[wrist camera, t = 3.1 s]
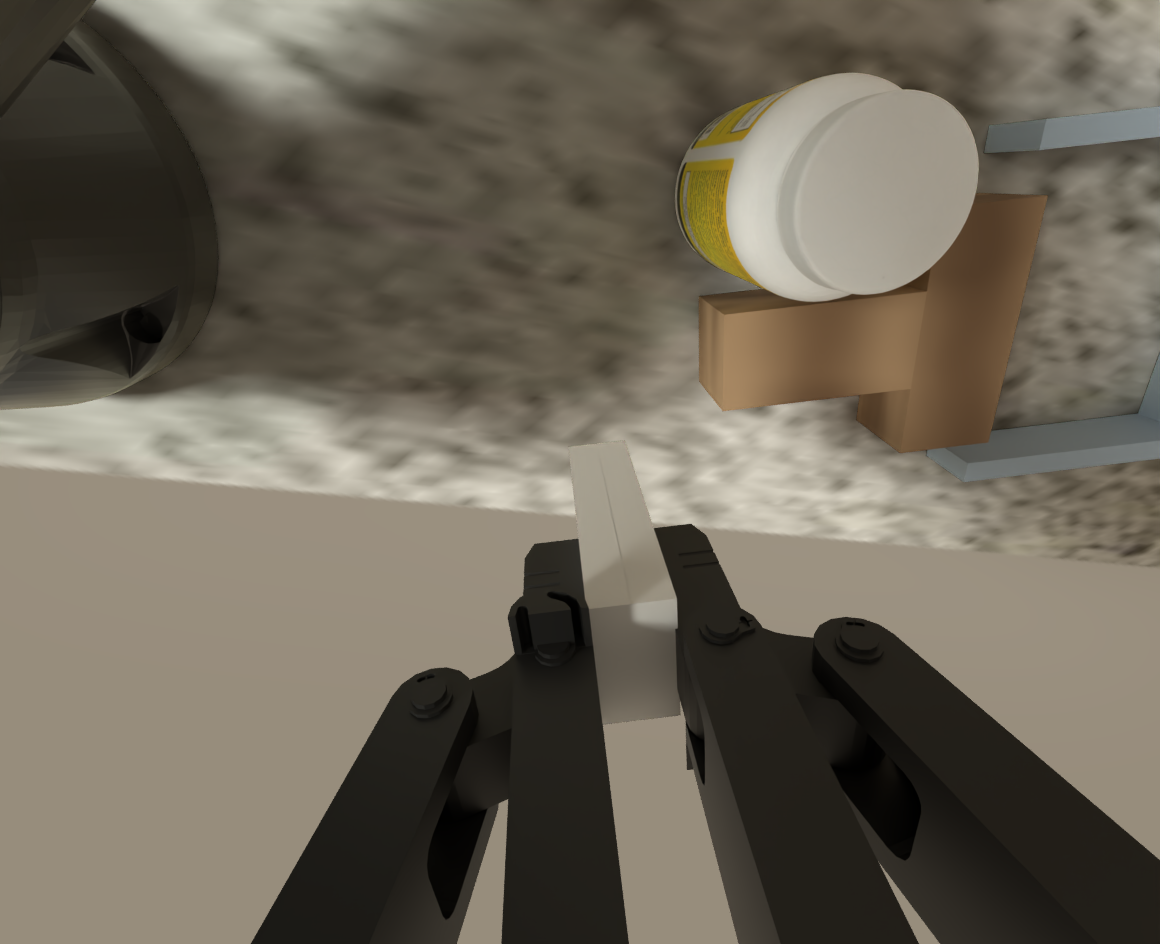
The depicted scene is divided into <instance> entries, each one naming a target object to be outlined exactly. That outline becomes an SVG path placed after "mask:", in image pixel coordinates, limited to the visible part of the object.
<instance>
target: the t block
mask: <svg viewBox="0 0 1160 944" xmlns="http://www.w3.org/2000/svg"><path fill="white" fill-rule="evenodd" d="M1047 198H1048V195H1021V194H993V193H976V194H975V197H974V201H973V204H972V207H971V210H970V213H969V215H968V218H967V220H966V222H965V224H964V226H963V228H962V229H961V231H960V233H959V235H958V236H957V238H956V239H955V241H954V242H953V244H952V245H951V246H950V248H949V249H948V250H947V251H946V252H945V254H944V255H943V256H942V257H941V258H940V259H939V260H938V261H937V262H936V263H935V264H934V265H933V266H932V267H931V268H930V269H928V270H927V271H926V272H924V273H923V274H922V275H920V276H919V277H918V278H916V279H914V280H913V281H911V282H909V283H907V284H905V285H903V286H901V287H898V288H896V289H893V290H890V291H887V292H883V293H878V294H868V295H860V294H850V295H848V296H845V297H841V298H838V299H833V300H828V301H819V302H806V301H799V300H793V299H789V298H785V297H782V296H779V295H777V294H774V293H772V292H770V291H768V290H765V289H758V290H749V291H740V292H732V293H723V294H714V295H705V296H699V382H700V383H701V384H702V386H703V387H704V388H705V389H706V391H707V392H708V393H709V394H710V396H711V397H712V398H713V399H714V401H715V402H716V403H717V404H718V406H719V407H720V408H721V409H722V411H727V410H736V409H744V408H753V407H761V406H770V405H778V404H787V403H795V402H804V401H812V400H821V399H829V398H838V397H846V396H855V395H859V403H858V411H857V419H856V420H857V421H858V422H860V423H861V424H862V425H864V426H865V427H866V428H868V429H869V430H870V431H872V432H873V433H874V434H876V435H877V436H878V437H879V438H881V439H882V440H883V441H885V442H886V443H887V444H889V445H890V446H891V447H893V448H894V449H895V450H897V451H898V452H899V453H905V452H913V451H922V450H930V449H938V448H947V447H955V446H963V445H972V444H980V443H988V442H989V438H990V434H991V430H992V426H993V422H994V417H995V413H996V409H997V405H998V401H999V397H1000V393H1001V388H1002V384H1003V380H1004V376H1005V372H1006V368H1007V363H1008V359H1009V355H1010V351H1011V347H1012V343H1013V339H1014V334H1015V330H1016V326H1017V322H1018V318H1019V314H1020V310H1021V305H1022V301H1023V297H1024V293H1025V289H1026V285H1027V281H1028V276H1029V272H1030V268H1031V264H1032V260H1033V256H1034V251H1035V247H1036V243H1037V239H1038V235H1039V231H1040V227H1041V222H1042V218H1043V214H1044V210H1045V206H1046V202H1047Z"/></svg>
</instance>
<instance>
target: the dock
mask: <svg viewBox="0 0 1160 944" xmlns="http://www.w3.org/2000/svg"><path fill="white" fill-rule="evenodd" d="M1153 137H1160V106H1158V107H1149V108H1140V109H1131V110H1122V111H1113V112H1104V113H1095V114H1086V115H1077V116H1068V117H1059V118H1050V119H1041V120H1032V121H1023V122H1015V123H1006V124H997V125H989V129H988V135H987V140H986V145H985V150H984V153H996V152H1015V151H1034V150H1046V149H1055V148H1064V147H1073V146H1081V145H1090V144H1099V143H1108V142H1117V141H1126V140H1135V139H1144V138H1153ZM926 456H928V457H929V458H931V459H932V460H933V461H935V462H936V463H938V464H939V465H940V466H942V467H943V468H945V469H946V470H947V471H949V472H950V473H952V474H953V475H954V476H956V477H957V478H959V479H960V480H961V481H963V482H969V481H977V480H986V479H994V478H1002V477H1011V476H1019V475H1027V474H1036V473H1044V472H1052V471H1061V470H1069V469H1077V468H1086V467H1094V466H1102V465H1111V464H1119V463H1127V462H1136V461H1144V460H1152V459H1160V354H1159V357H1158V359H1157V362H1156V365H1155V368H1154V370H1153V373H1152V376H1151V379H1150V382H1149V384H1148V387H1147V390H1146V393H1145V395H1144V398H1143V401H1142V404H1141V407H1140V409H1139V412H1138V413H1137V414H1129V415H1121V416H1112V417H1104V418H1095V419H1087V420H1079V421H1070V422H1062V423H1053V424H1045V425H1036V426H1028V427H1020V428H1011V429H1003V430H994V431H991V434H990V438H989V442H988V443H980V444H972V445H963V446H955V447H947V448H938V449H930V450H927V455H926Z"/></svg>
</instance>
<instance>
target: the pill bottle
mask: <svg viewBox="0 0 1160 944" xmlns="http://www.w3.org/2000/svg"><path fill="white" fill-rule="evenodd" d="M978 173H979V160H978V152H977V148H976V143H975V140H974V137H973V134H972V131H971V129H970V127H969V125H968V124H967V122H966V120H965V119H964V117H963V116H962V115H961V114H960V112H959V111H958V110H957V109H956V108H955V107H954V106H953V105H951V104H950V103H949V102H947V101H946V100H944V99H942V98H941V97H939V96H936V95H934V94H932V93H928V92H924V91H919V90H908V89H905V90H903V89H901V88H900V87H899V86H897V85H896V84H894V83H892V82H890V81H888V80H886V79H883V78H881V77H878V76H874V75H870V74H863V73H838V74H833V75H828V76H823V77H819V78H816V79H813V80H810V81H807V82H804V83H802V84H799V85H797V86H794V87H791V88H789V89H786V90H782V91H780V92H777V93H775V94H772V95H769V96H766V97H763V98H761V99H758V100H755V101H752V102H749V103H746V104H744V105H742V106H739V107H736V108H734V109H732V110H730V111H728V112H726V113H724V114H722V115H721V116H719V117H718V118H716V119H715V120H713V121H712V122H711V123H710V124H708V125H707V126H706V127H705V128H704V129H703V130H702V131H701V132H700V134H699V135H698V136H697V137H696V138H695V140H694V141H693V143H692V144H691V145H690V147H689V149H688V151H687V152H686V154H685V157H684V159H683V161H682V164H681V166H680V169H679V172H678V176H677V181H676V188H675V209H676V215H677V219H678V223H679V226H680V228H681V231H682V233H683V235H684V237H685V239H686V240H687V242H688V243H689V245H690V246H691V247H692V249H693V250H694V251H695V252H696V253H697V254H698V255H699V256H700V257H702V258H703V259H704V260H706V261H707V262H709V263H710V264H712V265H713V266H715V267H717V268H719V269H721V270H724V271H725V272H728V273H730V274H732V275H735V276H737V277H739V278H741V279H743V280H746V281H748V282H750V283H752V284H755V285H757V286H759V287H761V288H763V289H765V290H768V291H770V292H772V293H774V294H777V295H779V296H782V297H785V298H789V299H793V300H799V301H806V302H819V301H828V300H833V299H838V298H841V297H845V296H848V295H850V294H860V295H868V294H878V293H883V292H887V291H890V290H893V289H896V288H898V287H901V286H903V285H905V284H907V283H909V282H911V281H913V280H914V279H916V278H918V277H919V276H920V275H922V274H923V273H924V272H926V271H927V270H928V269H930V268H931V267H932V266H933V265H934V264H935V263H936V262H937V261H938V260H939V259H940V258H941V257H942V256H943V255H944V254H945V252H946V251H947V250H948V249H949V248H950V246H951V245H952V244H953V242H954V241H955V239H956V238H957V236H958V235H959V233H960V231H961V229H962V228H963V226H964V224H965V222H966V220H967V218H968V215H969V213H970V210H971V207H972V204H973V201H974V197H975V194H976V190H977V183H978Z"/></svg>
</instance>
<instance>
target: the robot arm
mask: <svg viewBox="0 0 1160 944" xmlns="http://www.w3.org/2000/svg"><path fill="white" fill-rule="evenodd" d="M95 1H96V0H0V410H6V409H23V408H39V407H55V406H66V405H73V404H79V403H83V402H87V401H92V400H95V399H99V398H102V397H105V396H109V395H112V394H114V393H116V392H119V391H121V390H123V389H125V388H127V387H129V386H131V385H133V384H135V383H137V382H139V381H141V380H143V379H145V378H147V377H149V376H151V375H153V374H154V373H156V372H158V371H160V370H161V369H163V368H164V367H166V366H167V365H169V364H170V363H171V362H172V361H174V360H175V359H176V358H177V357H178V356H179V355H180V354H181V353H182V352H183V351H184V350H185V349H186V348H187V347H188V346H189V344H190V343H191V342H192V341H193V339H194V338H195V336H196V335H197V333H198V332H199V330H200V328H201V327H202V325H203V323H204V321H205V319H206V316H207V314H208V312H209V309H210V306H211V303H212V300H213V296H214V291H215V287H216V280H217V271H218V243H217V233H216V226H215V220H214V215H213V211H212V207H211V203H210V199H209V196H208V192H207V189H206V186H205V183H204V180H203V178H202V175H201V173H200V170H199V167H198V165H197V163H196V161H195V159H194V156H193V154H192V152H191V150H190V148H189V146H188V144H187V143H186V141H185V139H184V137H183V135H182V133H181V132H180V130H179V128H178V127H177V125H176V123H175V122H174V120H173V118H172V117H171V115H170V114H169V112H168V111H167V110H166V108H165V107H164V105H163V104H162V102H161V101H160V100H159V98H158V97H157V96H156V94H155V93H154V92H153V90H152V89H151V88H150V86H149V85H148V84H147V83H146V82H145V81H144V79H143V78H142V77H141V76H140V75H139V73H138V72H137V71H136V70H135V69H134V68H133V67H132V66H131V65H130V64H129V63H128V62H127V61H126V59H125V58H124V57H123V56H122V55H121V54H120V53H119V52H118V51H116V50H115V49H114V48H113V47H112V46H111V45H110V44H109V43H108V42H107V41H106V40H105V39H104V38H102V37H101V36H100V35H99V34H98V33H97V32H95V31H94V30H93V29H92V28H91V27H89V26H88V25H87V24H85V23H84V22H83V21H82V20H80V19H81V18H82V17H83V16H84V15H85V13H86V12H87V11H88V10H89V8H90V7H91V6H92V5H93V3H94V2H95ZM569 456H570V465H571V474H572V484H573V493H574V502H575V511H576V520H577V529H578V538H579V539H572V540H564V541H556V542H548V543H539V544H534V546H533V547H532V548H531V550H530V551H529V553H528V554H527V556H526V558H525V567H524V592H523V596H522V597H520V598H519V599H518V600H517V601H516V602H515V603H514V604H513V606H511V609H510V612H509V615H508V621H509V627H510V631H511V636H512V641H513V646H514V652H515V654H514V655H513V656H512V657H511V658H510V659H509V660H508V661H507V662H506V663H504V664H503V665H502V666H500V667H499V668H497V669H495V670H493V671H491V672H488V673H486V674H484V675H481V676H478V677H476V678H473V679H470V680H469V678H468V677H467V676H466V675H464V674H463V673H462V672H461V671H459V670H455V669H451V668H435V669H429V670H427V671H424V672H422V673H419V674H416V675H414V676H413V677H412V678H410V679H409V680H407V681H406V682H404V683H403V684H402V685H401V686H400V687H399V688H398V690H397V691H396V692H395V693H394V695H393V696H392V697H391V699H390V701H389V703H388V705H387V707H386V708H385V710H384V712H383V713H382V715H381V717H380V719H379V720H378V722H377V724H376V726H375V727H374V729H373V731H372V733H371V735H370V736H369V738H368V740H367V741H366V743H365V745H364V747H363V748H362V750H361V752H360V754H359V755H358V757H357V759H356V761H355V762H354V764H353V766H352V768H351V769H350V771H349V773H348V775H347V776H346V778H345V780H344V782H343V783H342V785H341V787H340V789H339V790H338V792H337V794H336V796H335V797H334V799H333V801H332V803H331V804H330V806H329V808H328V810H327V811H326V813H325V815H324V817H323V818H322V820H321V822H320V824H319V826H318V827H317V829H316V831H315V833H314V834H313V836H312V838H311V839H310V841H309V843H308V845H307V846H306V848H305V850H304V852H303V853H302V855H301V857H300V859H299V860H298V862H297V864H296V866H295V867H294V869H293V871H292V873H291V874H290V876H289V878H288V880H287V881H286V883H285V885H284V887H283V888H282V890H281V892H280V894H279V895H278V897H277V899H276V901H275V902H274V904H273V906H272V908H271V909H270V911H269V913H268V915H267V917H266V918H265V920H264V922H263V923H262V925H261V927H260V929H259V930H258V932H257V934H256V936H255V938H254V939H253V941H252V943H251V944H457V941H458V938H459V935H460V931H461V928H462V925H463V922H464V918H465V915H466V912H467V908H468V905H469V902H470V899H471V895H472V892H473V889H474V886H475V882H476V879H477V876H478V873H479V869H480V866H481V863H482V860H483V856H484V853H485V850H486V846H487V843H488V840H489V837H490V834H491V830H492V827H493V824H494V821H495V817H496V814H497V811H498V804H499V803H500V802H502V801H504V800H507V799H508V818H507V839H506V840H507V841H506V860H505V881H504V883H505V884H504V903H503V924H502V944H629V941H628V933H627V925H626V916H625V908H624V900H623V891H622V883H621V876H620V875H621V874H620V866H619V858H618V849H617V841H616V833H615V825H614V817H613V807H612V799H611V791H610V782H609V774H608V766H607V757H606V749H605V742H604V732H603V724H612V723H620V722H629V721H636V720H645V719H654V718H662V717H669V716H678V715H680V701H681V705H682V708H683V712H684V716H685V719H686V753H687V770H691V769H694V773H695V777H696V781H697V785H698V789H699V792H700V796H701V800H702V804H703V808H704V811H705V816H706V819H707V823H708V827H709V831H710V835H711V839H712V843H713V846H714V850H715V854H716V858H717V862H718V866H719V870H720V873H721V877H722V881H723V885H724V889H725V893H726V896H727V900H728V904H729V908H730V912H731V916H732V920H733V924H734V927H735V931H736V935H737V939H738V943H739V944H919V943H918V941H917V939H916V937H915V935H914V933H913V931H912V929H911V927H910V925H909V923H908V921H907V919H906V917H905V915H904V913H903V911H902V909H901V907H900V905H899V903H898V901H897V899H896V897H895V895H894V893H893V891H892V889H891V887H890V885H889V883H888V880H887V879H886V877H885V875H884V872H883V871H882V868H881V866H880V864H881V865H882V867H883V868H884V869H885V871H886V872H887V873H888V875H889V876H890V877H891V879H892V880H893V881H894V883H895V884H896V885H897V887H898V888H899V889H900V891H901V892H902V893H903V895H904V896H905V897H906V899H907V900H908V901H909V903H910V904H911V905H912V907H913V908H914V909H915V911H916V912H917V913H918V915H919V916H920V917H921V919H922V920H923V921H924V923H925V924H926V925H927V927H928V928H929V929H930V931H931V932H932V933H933V935H934V936H935V937H936V939H937V940H938V941H939V943H940V944H1160V860H1159V859H1158V858H1157V857H1155V856H1154V855H1153V854H1152V853H1151V852H1150V851H1148V850H1147V849H1146V848H1145V847H1144V846H1143V845H1141V844H1140V843H1139V842H1138V841H1137V840H1135V839H1134V838H1133V837H1132V836H1131V835H1129V834H1128V833H1127V832H1126V831H1125V830H1124V829H1122V828H1121V827H1120V826H1119V825H1118V824H1116V823H1115V822H1114V821H1113V820H1112V819H1111V818H1110V817H1108V816H1107V815H1106V814H1105V813H1104V812H1103V811H1101V810H1100V809H1099V808H1098V807H1097V806H1095V805H1094V804H1093V803H1092V802H1091V801H1090V800H1088V799H1087V798H1086V797H1085V796H1084V795H1083V794H1081V793H1080V792H1079V791H1078V790H1077V789H1075V788H1074V787H1073V786H1072V785H1071V784H1070V783H1068V782H1067V781H1066V780H1065V779H1064V778H1063V777H1061V776H1060V775H1059V774H1058V773H1057V772H1055V771H1054V770H1053V769H1052V768H1051V767H1050V766H1048V765H1047V764H1046V763H1045V762H1044V761H1042V760H1041V759H1040V758H1039V757H1038V756H1037V755H1035V754H1034V753H1033V752H1032V751H1031V750H1030V749H1028V748H1027V747H1026V746H1025V745H1024V744H1023V743H1021V742H1020V741H1019V740H1018V739H1017V738H1015V737H1014V736H1013V735H1012V734H1011V733H1010V732H1008V731H1007V730H1006V729H1005V728H1004V727H1003V726H1001V725H1000V724H999V723H998V722H997V721H995V720H994V719H993V718H992V717H991V716H990V715H988V714H987V713H986V712H985V711H984V710H982V709H981V708H980V707H979V706H978V705H977V704H975V703H974V702H973V701H972V700H971V699H970V698H968V697H967V696H966V695H965V694H964V693H963V692H961V691H960V690H959V689H958V688H957V687H955V686H954V685H953V684H952V683H951V682H950V681H948V680H947V679H946V678H945V677H944V676H943V675H941V674H940V673H939V672H938V671H937V670H935V669H934V668H933V667H932V666H931V665H930V664H928V663H927V662H926V661H925V660H924V659H922V658H921V657H920V656H919V655H918V654H917V653H915V652H914V651H913V650H912V649H911V648H910V647H908V646H907V645H906V644H905V643H904V642H902V641H901V640H900V639H899V638H898V637H896V636H895V635H894V634H893V633H891V632H890V631H888V630H887V629H885V628H884V627H882V626H880V625H879V624H876V623H873V622H870V621H867V620H864V619H859V618H849V617H842V618H836V619H830V620H829V621H827V622H825V623H823V624H821V625H820V626H819V627H818V629H817V630H816V632H815V634H814V638H810V637H801V636H793V635H786V634H780V633H775V632H772V631H770V630H767V629H764V628H762V626H761V624H760V623H759V622H758V621H757V620H756V618H755V617H754V616H753V615H751V614H750V613H748V612H746V611H745V610H743V609H741V608H740V606H739V604H738V602H737V599H736V597H735V595H734V593H733V591H732V589H731V587H730V585H729V582H728V580H727V578H726V576H725V574H724V572H723V570H722V568H721V566H720V565H719V561H718V559H717V557H716V555H715V553H713V549H712V547H711V544H710V542H709V540H708V538H707V536H706V535H705V534H704V533H703V532H701V531H700V530H699V529H697V528H696V527H695V526H693V525H692V524H686V525H677V526H669V527H660V528H653V525H652V522H651V519H650V515H649V512H648V509H647V506H646V503H645V500H644V497H643V494H642V491H641V488H640V485H639V482H638V479H637V476H636V473H635V470H634V467H633V464H632V461H631V458H630V455H629V452H628V449H627V446H626V443H625V440H623V441H614V442H606V443H597V444H588V445H580V446H571V447H569ZM878 861H879V862H878ZM879 863H880V864H879Z"/></svg>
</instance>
